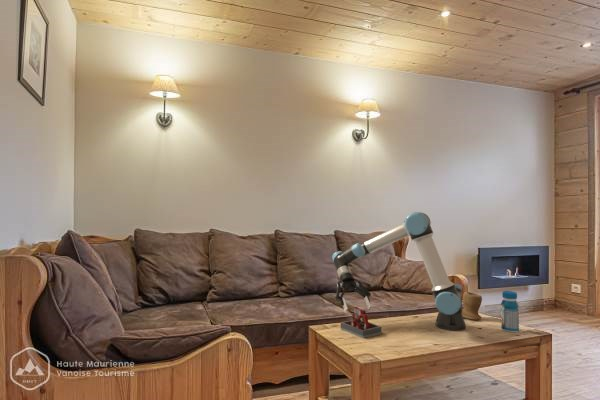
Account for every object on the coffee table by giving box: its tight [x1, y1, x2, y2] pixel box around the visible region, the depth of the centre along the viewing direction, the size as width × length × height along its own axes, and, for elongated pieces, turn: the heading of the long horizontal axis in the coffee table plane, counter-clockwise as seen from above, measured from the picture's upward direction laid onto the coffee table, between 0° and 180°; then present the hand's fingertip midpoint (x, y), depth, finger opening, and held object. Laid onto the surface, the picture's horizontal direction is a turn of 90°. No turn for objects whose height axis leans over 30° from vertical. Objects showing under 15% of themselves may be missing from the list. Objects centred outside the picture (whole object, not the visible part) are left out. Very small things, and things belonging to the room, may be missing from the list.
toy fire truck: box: [351, 306, 371, 330], centre depth 195 cm, size 7×12×10 cm, turn 21°
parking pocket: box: [340, 319, 383, 339], centre depth 195 cm, size 17×13×4 cm
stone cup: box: [462, 291, 483, 321], centre depth 222 cm, size 15×12×15 cm
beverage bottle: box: [500, 290, 520, 333], centre depth 198 cm, size 8×8×20 cm
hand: (358, 309), depth 197 cm, fingers open, 13 cm apart
